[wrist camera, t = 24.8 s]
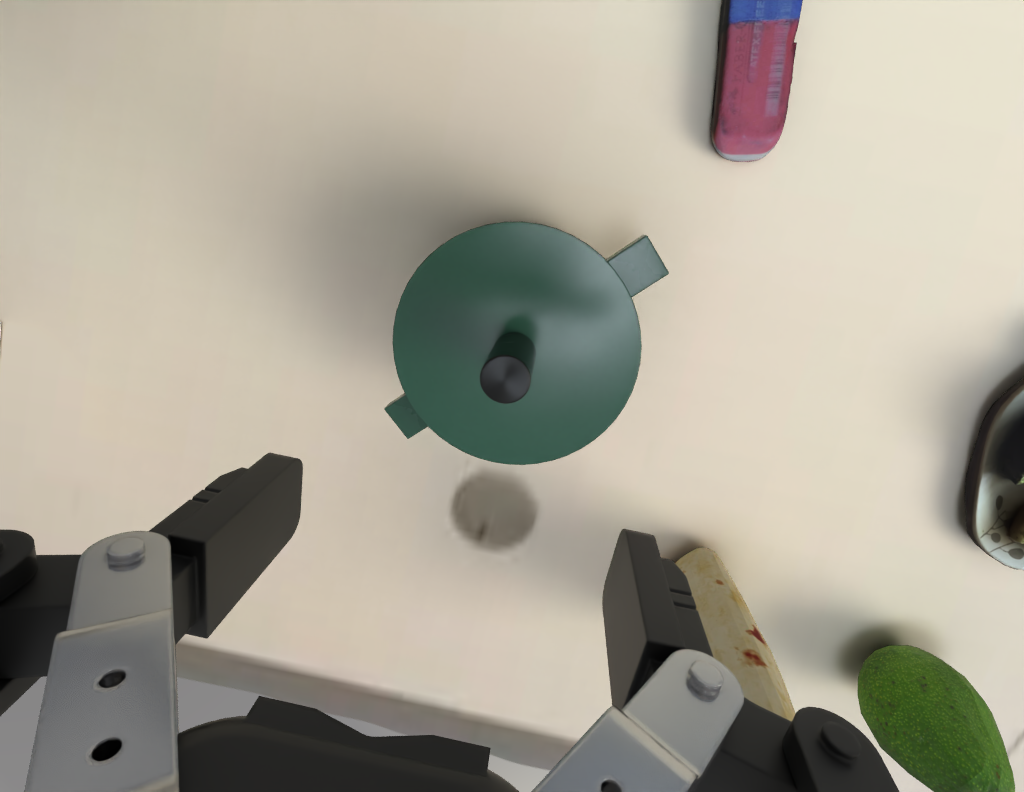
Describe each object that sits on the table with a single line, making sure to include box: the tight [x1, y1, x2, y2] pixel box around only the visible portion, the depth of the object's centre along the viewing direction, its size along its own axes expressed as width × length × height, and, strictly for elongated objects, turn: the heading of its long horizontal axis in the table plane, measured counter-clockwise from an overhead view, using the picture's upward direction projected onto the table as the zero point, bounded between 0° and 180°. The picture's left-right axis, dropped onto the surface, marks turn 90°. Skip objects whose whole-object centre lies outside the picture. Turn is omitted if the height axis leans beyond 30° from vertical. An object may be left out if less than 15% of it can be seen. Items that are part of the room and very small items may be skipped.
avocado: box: [858, 645, 1015, 792], centre depth 39 cm, size 8×8×12 cm
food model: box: [675, 547, 795, 721], centre depth 34 cm, size 10×7×20 cm
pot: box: [385, 235, 669, 439], centre depth 33 cm, size 13×18×8 cm
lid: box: [393, 222, 641, 465], centre depth 27 cm, size 14×14×6 cm
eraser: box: [711, 0, 803, 162], centre depth 30 cm, size 11×4×2 cm, turn 1°
